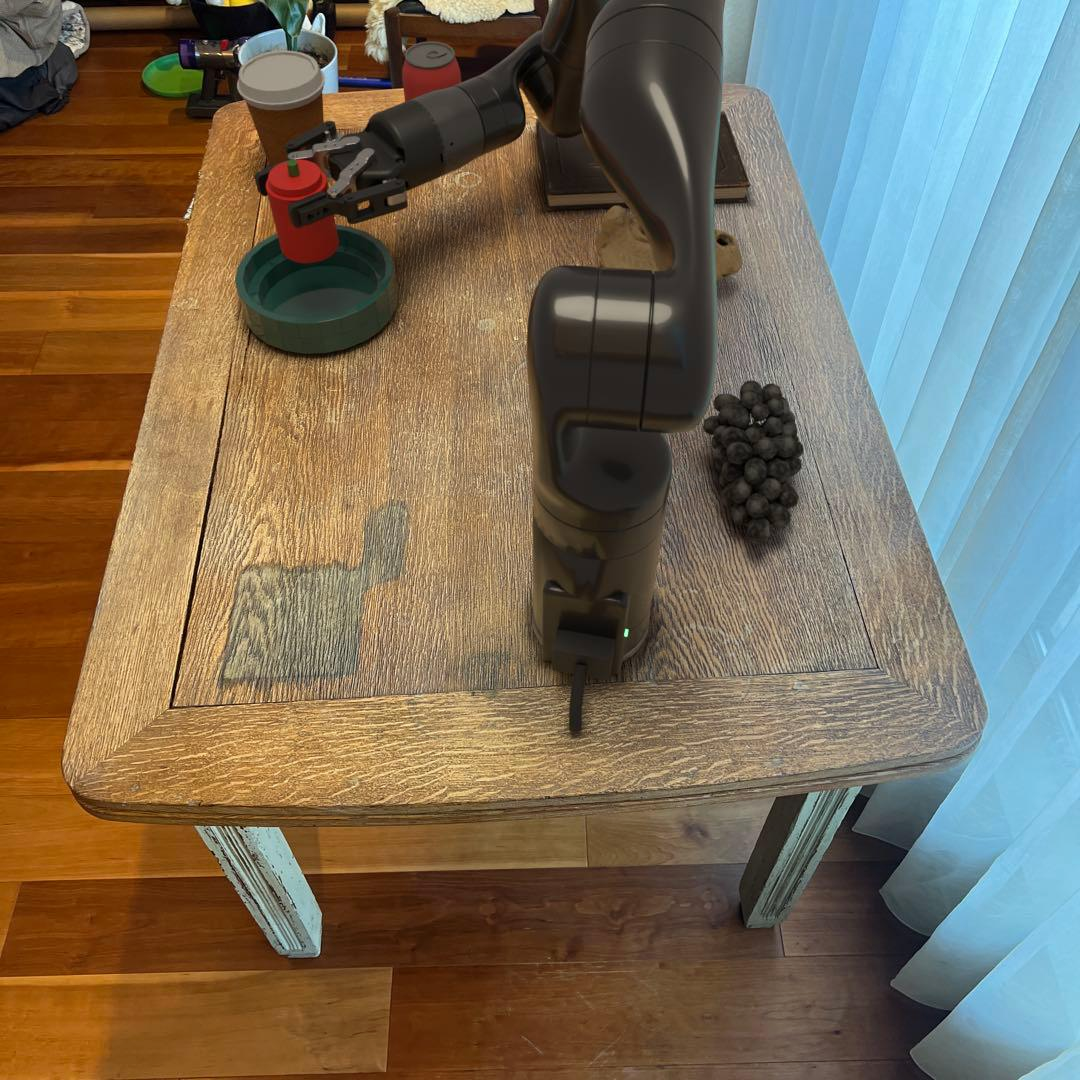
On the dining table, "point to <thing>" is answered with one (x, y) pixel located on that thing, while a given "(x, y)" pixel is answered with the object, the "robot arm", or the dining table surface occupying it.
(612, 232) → the oil lamp
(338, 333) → the bowl
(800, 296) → the dining table surface
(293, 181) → the red cylinder
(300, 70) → the disposable coffee cup
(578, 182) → the hardcover book
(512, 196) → the dining table surface
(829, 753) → the dining table surface
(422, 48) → the beer can
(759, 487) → the fruit
